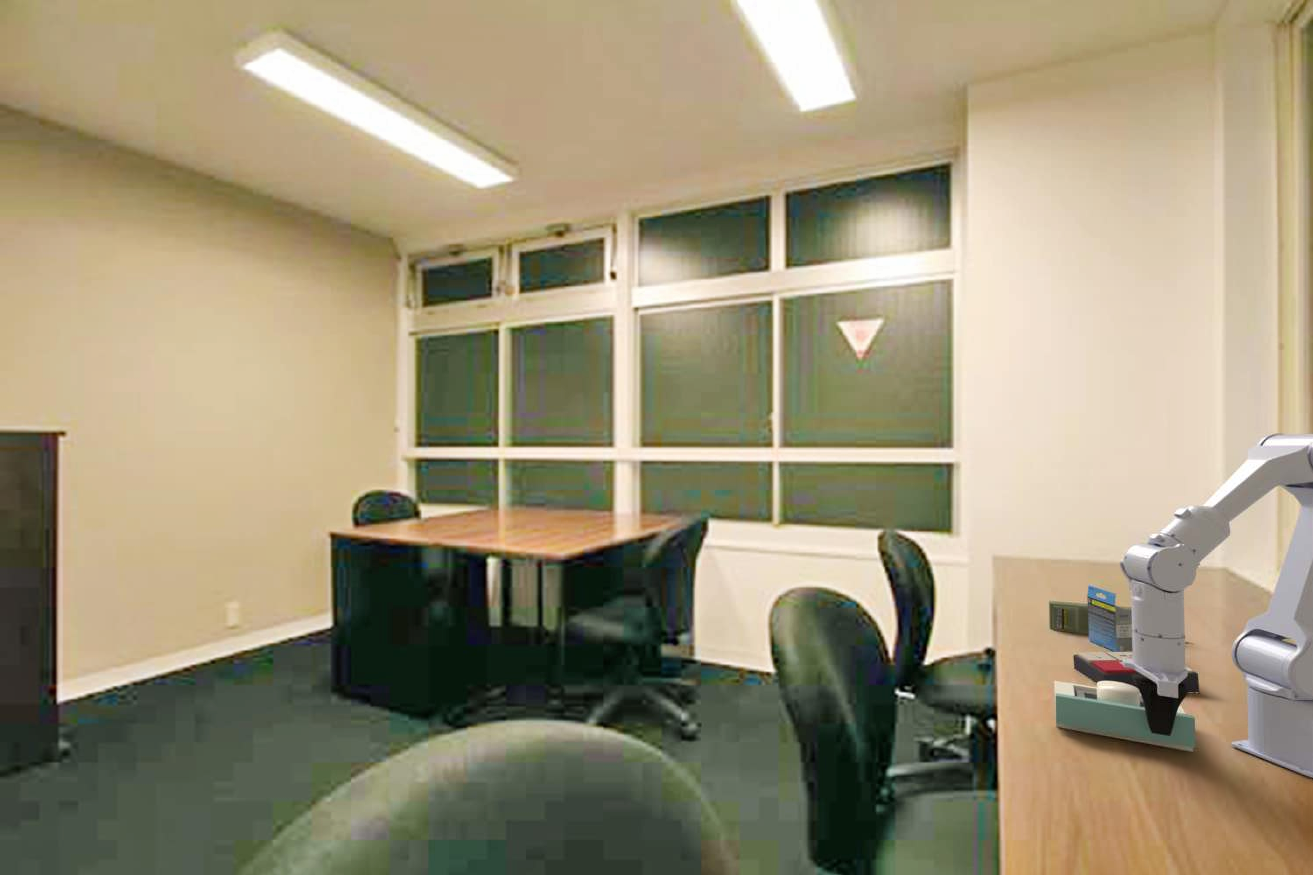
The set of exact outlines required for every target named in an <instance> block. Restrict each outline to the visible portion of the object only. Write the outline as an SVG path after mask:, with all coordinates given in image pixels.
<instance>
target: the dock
mask: <svg viewBox="0 0 1313 875" xmlns="http://www.w3.org/2000/svg"><path fill="white" fill-rule="evenodd" d="M1053 686H1054V687H1053V689H1054V690H1053V696H1054V701H1053V702H1054V714H1055V718H1056V693H1059V694H1065V695H1071V696H1076V689H1078V690H1084V691H1090V692H1097V686H1093V685H1092V686H1091V685H1084V684H1079V683H1072V682H1066V681H1065V682H1064V681H1059V680H1054V681H1053ZM1140 699H1141V700H1143V699H1142V696H1141V693H1140ZM1177 713H1182V714H1186V712H1185V710H1184V708H1183V706H1182V705H1181V704H1180V706H1179V708H1178V710H1177ZM1055 728H1061V729H1065V730H1066V729H1067V730H1073V731H1078V732H1083V733H1089V734H1093V735H1094V734H1095V735H1100V736H1105V737H1111V738H1115V739H1120V740H1121V739H1122V740H1127V741H1133V742H1138V743H1143V744H1149V745H1154V746H1159V747H1164V748H1169V749H1176V750H1180V751H1186V752H1191V753H1193V752H1194V748H1192V747H1186V746H1181V745H1175V744H1170V743H1164V742H1159V741H1153V740H1148V739H1142V738H1137V737H1131V736H1126V735H1120V734H1115V733H1109V732H1104V731H1098V730H1093V729H1087V728H1082V727H1076V726H1071V725H1065V724H1060V723H1056V722H1055Z"/></svg>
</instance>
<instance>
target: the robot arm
mask: <svg viewBox="0 0 1313 875" xmlns="http://www.w3.org/2000/svg"><path fill="white" fill-rule="evenodd" d="M1278 486H1279V487H1282V488H1283V489H1284V490H1285V491H1287V492H1288V493H1289V494H1290V495H1293V496H1294V498H1295V499H1296V500H1297V502H1299V504H1300V506H1301V508H1300V510H1299V513H1298V516H1297V520H1296V523H1295V525H1294V529H1293V532H1292V535H1291V538H1290V540H1289V541H1290V542H1289V544H1288V548H1287V551H1286V553H1285V557H1284V559H1283V563H1282V566H1281V569H1280V571H1279V574H1278V575H1279V576H1278V578H1277V580H1276V585H1275V587H1274V590H1273V592H1272V593H1273V594H1272V596H1271V600H1270V603H1269V606H1268V609H1267V611H1266V612H1264V613H1262V614H1260V615H1258V616H1254V617H1252V618H1251V619H1249V620H1248V621H1247V622H1246V625H1245V627H1244V630H1243V632H1242V633H1241V634H1240V635H1239V636H1238V637H1237V638H1236V639H1235V640H1234V641H1233V644H1232V646H1231V650H1230V652H1231V653H1230V654H1231V656H1230V657H1231V659H1232V662H1233V665H1234V666H1235V667H1236V668H1237V669H1238V670H1239V671H1240V672H1242V680H1243V681H1245V682H1246V683H1247V684H1246V694H1247V695H1246V697H1247V698H1246V702H1247V704H1246V705H1247V736H1248V737H1247V739H1244V740H1236V741H1231V746H1232V747H1233V748H1236V749H1239V750H1242V751H1244V752H1246V753H1248V754H1250V755H1254V756H1256V757H1259V758H1262V759H1263V760H1267V761H1269V762H1270V763H1274V764H1275V765H1279V766H1281V767H1284V768H1286V769H1289V770H1291V771H1293V772H1296V773H1299V774H1301V775H1304V776H1306V777H1308V778H1312V779H1313V433H1289V434H1285V433H1281V432H1280V433H1271V434H1268V435H1266V436H1264V437H1262V438H1261V439H1260V440H1259V441H1258V442H1257V444H1256V445H1254V446H1252V447H1251V448H1250V449H1248V450H1247V453H1246V460H1245V462H1244V463H1243V464H1242V465H1241V466H1240V467H1239V468H1237V470H1236V471H1234V473H1233V474H1232V475H1231V476H1230V477H1229V478H1228V479H1227V480H1226V481H1225V482H1224V483H1223V484H1222V485H1221V486H1220V488H1218V489H1217V490H1216V492H1214V493H1213V494H1212V496H1210V498H1208V500H1207V501H1206V502H1205V503H1203V505H1188V506H1186V507H1185V508H1183V507H1182V508H1181V507H1180V508H1178V509H1177V510H1176V511H1175V512H1173V515H1174V518H1173V519H1171V520H1170V521H1169V522H1168V523H1166V525H1164V526H1163V528H1161V529H1160V530H1159V531H1158V532H1157V533H1152V534H1151V535H1150V536H1149V537H1148V539H1149V540H1148V541H1147V543H1146V542H1145V543H1144V542H1143V543H1141V544H1139V543H1138V544H1135V545H1133V546H1131V547H1130V548H1129V549H1128V550H1127V552H1126V553H1125V554H1124V556H1123V561H1120V562H1119V569H1120V570H1121V572H1122V574H1123V577H1124V576H1125V578H1126V579H1127V582H1128V590H1129V591H1130V596H1131V597H1130V600H1131V601H1130V602H1131V607H1132V650H1133V659H1122V664H1123V666H1124V667H1126V668H1132V669H1134V670H1136V671H1137V672H1139V673H1141V674H1142V675H1141V674H1133V675H1132V677H1133V679H1134V682H1135V684H1136V686H1137V687H1138V689H1139V691H1140V694H1141V696H1142V699H1143V703H1144V708H1145V712H1146V717H1147V721H1148V725H1149V728H1150V730H1151V733H1155V734H1161V735H1166V736H1170V735H1171V732H1172V729H1173V726H1174V721H1175V717H1176V713H1177V710H1178V708H1179V706H1180V705H1181V704H1182V702H1183V701H1184V699H1185V698H1186V697H1187V696H1188V694H1189V693H1188V690H1187V689H1186V687H1185V684H1184V682H1183V680H1184V679H1185V678H1186V677H1187V676H1188V670H1187V669H1186V667H1187V666H1186V636H1185V634H1186V632H1185V594H1184V593H1185V592H1184V590H1185V589H1186V588H1187V587H1189V586H1192V585H1193V583H1194V581H1195V580H1196V575H1197V570H1198V567H1199V566H1201V562H1202V561H1203V560H1204V559H1205V558H1206V557H1208V555H1210V554H1211V552H1213V551H1214V550H1215V549H1216V548H1217V547H1218V546H1220V545H1221V544H1222V543H1223V542H1225V540H1227V539H1229V537H1230V536H1231V526H1230V522H1231V521H1233V520H1234V519H1235V518H1237V517H1238V516H1240V514H1242V513H1244V512H1245V511H1246V510H1247V509H1249V508H1250V507H1251V506H1253V505H1254V504H1255V503H1257V502H1258V501H1259V500H1260V499H1262V498H1263V497H1264V496H1265V495H1266V496H1267V494H1268V493H1269V492H1271V491H1272V490H1274V489H1275V488H1277V487H1278ZM1285 640H1292V641H1294V643H1295V644H1294V643H1291V642H1288V641H1285Z"/></svg>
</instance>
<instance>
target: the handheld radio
mask: <svg viewBox="0 0 1313 875" xmlns="http://www.w3.org/2000/svg"><path fill="white" fill-rule="evenodd" d="M1117 606H1118V607H1120V608H1123V609H1125V610H1128V611H1131V612H1132V606H1131V607H1130V606H1122V605H1117ZM1048 608H1049V609H1048V613H1049V617H1048V618H1049V620H1048V621H1049V622H1048V623H1049V625H1048V626H1049V627H1048V628H1049V629H1050V630H1052V631H1058V632H1069V633H1079V634H1088V635H1089V623H1088V603H1080V602H1069V601H1055V600H1048Z"/></svg>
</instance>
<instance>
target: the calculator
mask: <svg viewBox="0 0 1313 875" xmlns="http://www.w3.org/2000/svg"><path fill="white" fill-rule="evenodd" d="M1122 659H1133V652H1114V651H1106V653H1105V652H1103V651H1099V652H1098V651H1097V652H1096V651H1095V652H1093V651H1091V652H1090V651H1089V652H1087V651H1086V652H1085V651H1084V652H1076V654H1073V667H1074V668H1073V669H1074V670H1075V669H1076V671H1077V672H1078V671H1079V673H1080V674H1081V673H1082V676H1084V675H1085V677H1086V676H1087V677H1088V678H1087V677H1086V678H1087V679H1089V680H1090V679H1091V680H1090V681H1092V682H1093V681H1094V682H1093V683H1095V682H1096V683H1097V682H1099V681H1115V682H1121V683H1125V684H1129V685H1132V686H1134V687H1136V688H1138V687H1137V686H1136V684H1135V682H1134V679H1133V677H1132V675H1133V674H1141V673H1139V672H1137V671H1136V670H1134V669H1132V668H1126V667H1124V666H1123V664H1122ZM1186 669H1187V670H1188V676H1187V677H1186V678H1185V679H1184V680H1183V682H1184V684H1185V687H1186V689H1187V690H1188V692H1194V693H1193V694H1196V693H1195V692H1199V693H1200V683H1199V673H1198V672H1197V671H1194V670H1193V669H1191V668H1190V667H1187V666H1186ZM1141 675H1142V674H1141ZM1096 683H1095V684H1096Z"/></svg>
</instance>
